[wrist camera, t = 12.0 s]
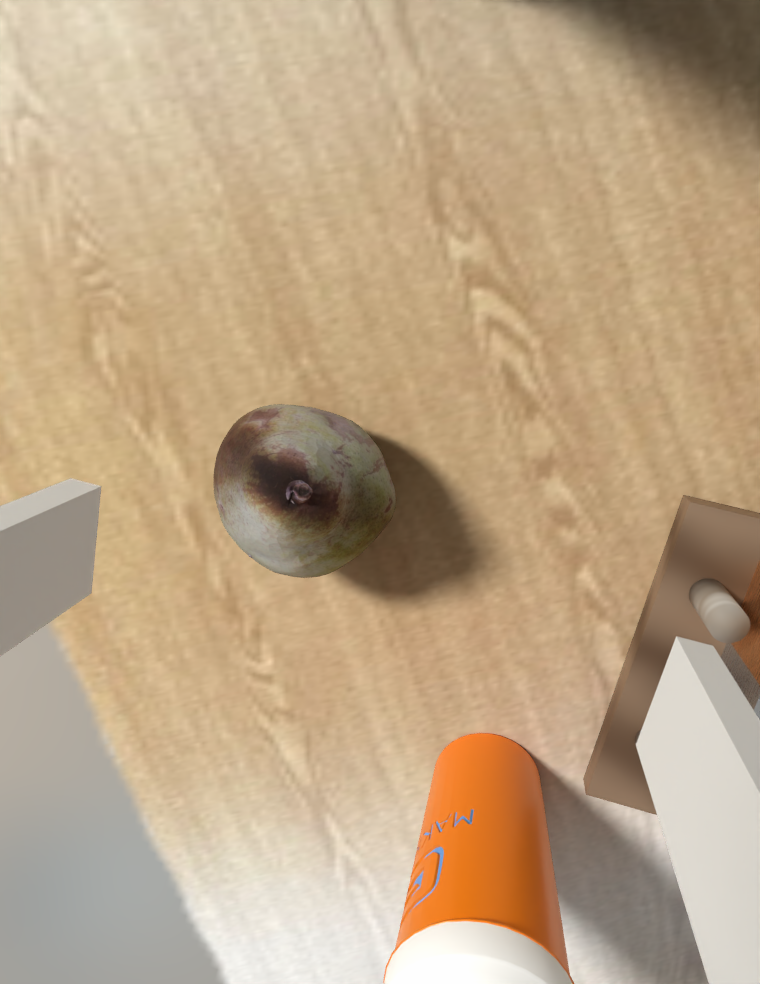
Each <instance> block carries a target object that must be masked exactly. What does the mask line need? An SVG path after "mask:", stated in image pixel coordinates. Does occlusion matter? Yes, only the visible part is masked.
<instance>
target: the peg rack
mask: <svg viewBox="0 0 760 984" xmlns="http://www.w3.org/2000/svg"><path fill="white" fill-rule="evenodd" d="M759 561H760V513H757V512H752V511H748V510H744V509H740V508H736V507H731V506H727V505H723V504H719V503H715V502H711V501H706V500H702V499H698V498H694V497H690V496H685V495H683V498H682V500H681V503H680V506H679V509H678V512H677V515H676V517H675V520H674V523H673V526H672V529H671V532H670V535H669V537H668V540H667V543H666V546H665V549H664V552H663V554H662V557H661V560H660V563H659V566H658V569H657V571H656V574H655V577H654V580H653V583H652V586H651V589H650V591H649V594H648V597H647V600H646V603H645V606H644V608H643V611H642V614H641V617H640V620H639V623H638V625H637V628H636V631H635V634H634V637H633V640H632V642H631V645H630V648H629V651H628V654H627V657H626V660H625V662H624V665H623V668H622V671H621V674H620V677H619V679H618V682H617V685H616V688H615V691H614V694H613V696H612V699H611V702H610V705H609V708H608V711H607V714H606V716H605V719H604V722H603V725H602V728H601V731H600V733H599V736H598V739H597V742H596V745H595V748H594V750H593V753H592V756H591V759H590V762H589V765H588V767H587V770H586V773H585V776H584V785H585V791H586V795H590V796H593V797H597V798H600V799H604V800H607V801H611V802H614V803H618V804H621V805H624V806H628V807H631V808H635V809H638V810H642V811H645V812H649V813H652V814H656V815H657V813H656V810H655V806H654V803H653V800H652V797H651V793H650V790H649V787H648V784H647V780H646V777H645V774H644V770H643V767H642V764H641V761H640V757H639V754H638V751H637V748H636V743H637V740H638V738H639V735H640V732H641V730H642V727H643V724H644V722H645V719H646V716H647V713H648V711H649V708H650V705H651V703H652V700H653V697H654V695H655V692H656V689H657V687H658V684H659V681H660V679H661V676H662V673H663V671H664V668H665V665H666V662H667V660H668V657H669V654H670V652H671V649H672V646H673V644H674V641H675V638H676V636H677V637H681V638H685V639H689V640H693V641H697V642H700V643H704V644H708V645H712V646H714V648H715V649H716V651H717V653H718V654H719V656H720V657H721V656H722V653H723V651H724V648H725V646H726V643H735V642H738V641H740V640H742V639H743V638H744V637H745V636H746V635H747V634H748V632H749V630H750V620H749V617H748V616H747V614H746V613H745V612H744V611H743V609H742V608H741V605H742V603H743V600H744V598H745V595H746V593H747V590H748V588H749V585H750V583H751V580H752V578H753V575H754V573H755V570H756V568H757V565H758V563H759Z"/></svg>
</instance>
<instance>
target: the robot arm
mask: <svg viewBox="0 0 760 984" xmlns="http://www.w3.org/2000/svg"><path fill="white" fill-rule="evenodd" d="M100 494H101V486H98V485H94V484H91V483H87V482H83V481H79V480H75V479H71V478H70V479H68V480H65V481H63V482H60V483H58V484H55V485H53V486H50V487H47V488H45V489H42V490H40V491H37V492H35V493H32V494H30V495H27V496H25V497H22V498H20V499H17V500H15V501H12V502H10V503H7V504H4V505H2V506H0V656H2V655H3V654H4V653H6V652H7V651H9V650H10V649H12V648H13V647H15V646H16V645H17V644H19V643H20V642H22V641H23V640H24V639H26V638H28V637H29V636H30V635H32V634H33V633H35V632H36V631H38V630H39V629H40V628H42V627H43V626H45V625H46V624H48V623H49V622H51V621H52V620H53V619H55V618H56V617H58V616H59V615H61V614H62V613H64V612H65V611H66V610H68V609H69V608H71V607H72V606H74V605H75V604H76V603H78V602H79V601H81V600H82V599H84V598H85V597H87V596H88V595H89V594H91V592H92V581H93V570H94V559H95V548H96V537H97V526H98V515H99V505H100ZM636 748H637V751H638V754H639V757H640V761H641V764H642V767H643V770H644V774H645V777H646V780H647V784H648V787H649V790H650V793H651V797H652V800H653V803H654V806H655V810H656V813H657V816H658V819H659V823H660V826H661V829H662V832H663V836H664V839H665V842H666V845H667V849H668V852H669V855H670V859H671V862H672V865H673V868H674V872H675V875H676V878H677V881H678V885H679V888H680V891H681V894H682V898H683V901H684V904H685V907H686V911H687V914H688V917H689V921H690V924H691V927H692V930H693V934H694V937H695V940H696V943H697V947H698V950H699V953H700V956H701V960H702V963H703V966H704V969H705V973H706V976H707V979H708V982H709V984H760V720H759V718H758V716H757V715H756V713H755V712H754V710H753V708H752V707H751V705H750V704H749V702H748V701H747V699H746V697H745V696H744V694H743V693H742V691H741V689H740V688H739V686H738V685H737V683H736V681H735V680H734V678H733V677H732V675H731V673H730V672H729V670H728V669H727V667H726V665H725V664H724V662H723V661H722V659H721V657H720V656H719V654H718V653H717V651H716V649H715V648H714V646H712V645H708V644H704V643H700V642H697V641H693V640H689V639H685V638H681V637H677V636H676V638H675V641H674V644H673V646H672V649H671V652H670V654H669V657H668V660H667V662H666V665H665V668H664V671H663V673H662V676H661V679H660V681H659V684H658V687H657V689H656V692H655V695H654V697H653V700H652V703H651V705H650V708H649V711H648V713H647V716H646V719H645V722H644V724H643V727H642V730H641V732H640V735H639V738H638V740H637V743H636Z"/></svg>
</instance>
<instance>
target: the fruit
mask: <svg viewBox="0 0 760 984" xmlns="http://www.w3.org/2000/svg"><path fill="white" fill-rule="evenodd" d="M214 494H215V500H216V503H217V507H218V510H219V514H220V517H221V520H222V523H223V525H224V527H225V529H226V530H227V532H228V533H229V535H230V536H231V537H232V539H233V540H234V541H235V542H236V544H237V545H238V546H239V547H240V548H241V549H242V550H243V551H244V552H245V553H246V554H248V555H249V557H251V558H253V559H254V560H255V561H256V562H258V563H259V564H261V565H262V566H264V567H266V568H267V569H269V570H271V571H273V572H275V573H279V574H283V575H288V576H293V577H301V578H307V577H318V576H322V575H326V574H329V573H331V572H333V571H335V570H337V569H338V568H340V567H342V566H343V565H345V564H346V563H348V562H349V561H351V560H353V559H354V558H356V557H357V556H358V555H360V554H361V553H362V552H363V551H364V550H365V549H366V548H367V547H368V546H369V545H370V544H371V543H372V542H373V541H374V540H375V539H376V537H377V536H378V535H379V534H380V533H381V532H382V530H383V529H384V528H385V527H386V525H387V524H388V523H389V521H390V520H391V518H392V515H393V512H394V509H395V505H396V497H395V489H394V485H393V482H392V480H391V477H390V474H389V471H388V469H387V467H386V464H385V461H384V458H383V456H382V453H381V451H380V449H379V448H378V446H377V445H376V443H375V442H374V441H373V440H372V439H371V437H370V436H369V435H368V434H367V433H366V432H365V431H364V430H363V429H362V428H361V427H360V426H359V425H357V424H356V423H354V422H353V421H351V420H348V419H346V418H344V417H342V416H339V415H336V414H334V413H330V412H327V411H323V410H320V409H316V408H312V407H304V406H296V405H282V404H278V405H268V406H264V407H260V408H257V409H255V410H253V411H251V412H249V413H247V414H246V415H244V416H243V417H241V418H240V419H239V420H238V421H237V422H236V423H235V424H234V425H233V426H232V428H231V429H230V430H229V432H228V434H227V435H226V437H225V438H224V440H223V442H222V444H221V446H220V448H219V451H218V454H217V457H216V463H215V469H214Z"/></svg>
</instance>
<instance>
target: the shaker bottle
mask: <svg viewBox="0 0 760 984" xmlns="http://www.w3.org/2000/svg"><path fill="white" fill-rule="evenodd" d="M384 984H574V982H573V980H572V978H571V976H570V973H569V966H568V960H567V953H566V947H565V940H564V934H563V927H562V920H561V914H560V907H559V901H558V894H557V888H556V881H555V874H554V868H553V861H552V855H551V848H550V842H549V835H548V828H547V822H546V815H545V809H544V802H543V796H542V789H541V782H540V777H539V773H538V769H537V767H536V765H535V763H534V761H533V759H532V758H531V757H530V755H529V754H528V753H527V752H526V751H525V750H524V749H523V748H522V747H521V746H520V745H518V744H517V743H515V742H513V741H512V740H510V739H507V738H505V737H502V736H499V735H494V734H488V733H477V734H470V735H467V736H464V737H461V738H459V739H457V740H455V741H453V742H452V743H450V744H449V745H448V746H447V747H446V748H445V749H444V750H443V752H442V753H441V754H440V756H439V758H438V760H437V762H436V765H435V770H434V774H433V779H432V783H431V788H430V793H429V797H428V802H427V806H426V811H425V815H424V820H423V824H422V829H421V834H420V838H419V843H418V847H417V852H416V856H415V861H414V865H413V870H412V875H411V880H410V884H409V888H408V893H407V897H406V902H405V907H404V912H403V916H402V920H401V925H400V930H399V934H398V938H397V943H396V947H395V950H394V951H393V953H392V954H391V957H390V959H389V961H388V963H387V965H386V969H385V975H384Z"/></svg>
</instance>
